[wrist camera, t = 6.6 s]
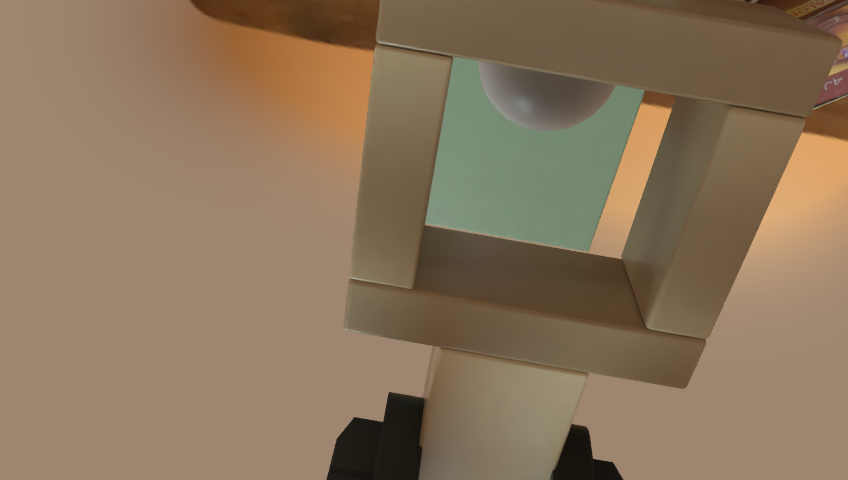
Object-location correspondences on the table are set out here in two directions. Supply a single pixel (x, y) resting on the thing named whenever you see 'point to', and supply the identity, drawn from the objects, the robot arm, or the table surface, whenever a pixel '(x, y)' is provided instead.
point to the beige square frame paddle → (558, 268)
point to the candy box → (834, 13)
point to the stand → (528, 153)
